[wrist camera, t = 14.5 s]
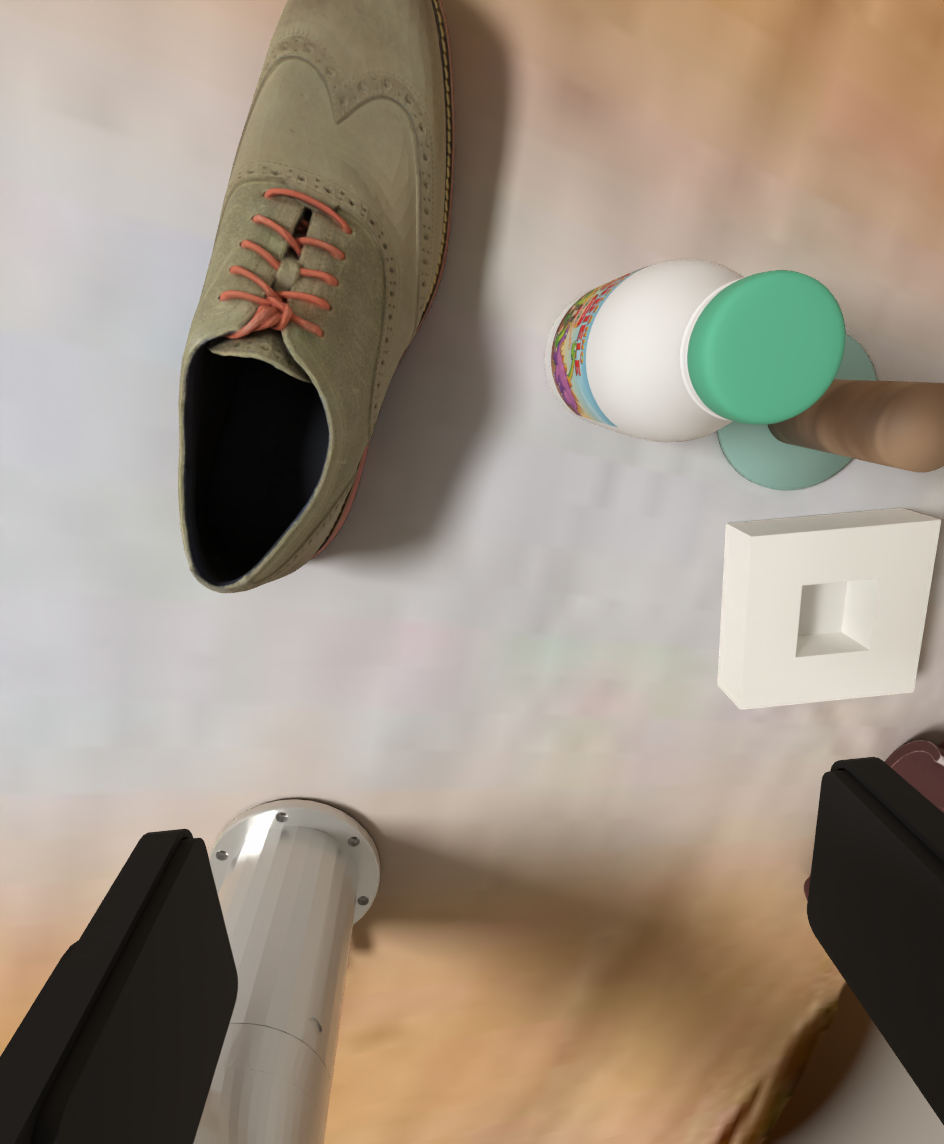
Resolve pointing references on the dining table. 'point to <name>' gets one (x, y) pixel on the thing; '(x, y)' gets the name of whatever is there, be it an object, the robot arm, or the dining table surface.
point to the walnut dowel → (874, 423)
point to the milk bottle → (695, 350)
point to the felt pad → (783, 462)
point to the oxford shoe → (314, 282)
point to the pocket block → (824, 606)
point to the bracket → (918, 772)
